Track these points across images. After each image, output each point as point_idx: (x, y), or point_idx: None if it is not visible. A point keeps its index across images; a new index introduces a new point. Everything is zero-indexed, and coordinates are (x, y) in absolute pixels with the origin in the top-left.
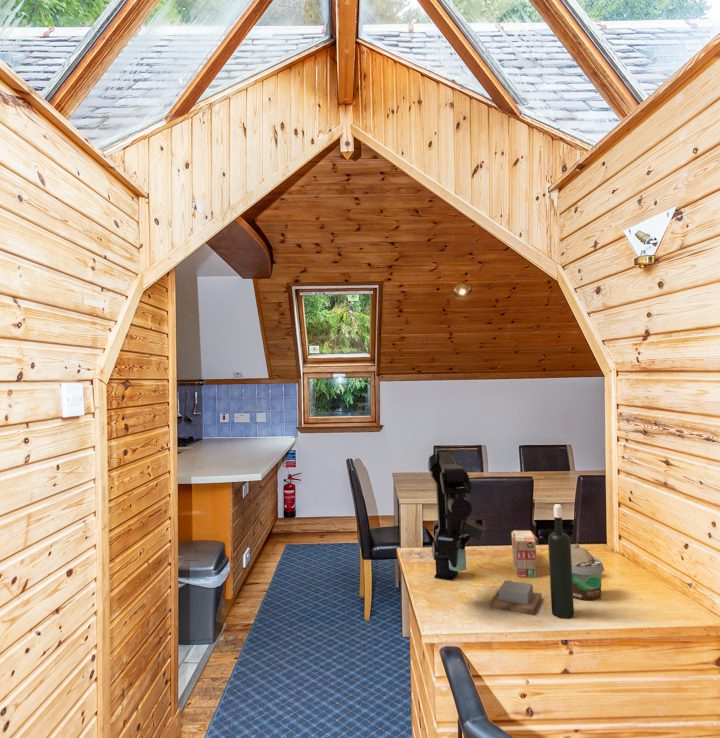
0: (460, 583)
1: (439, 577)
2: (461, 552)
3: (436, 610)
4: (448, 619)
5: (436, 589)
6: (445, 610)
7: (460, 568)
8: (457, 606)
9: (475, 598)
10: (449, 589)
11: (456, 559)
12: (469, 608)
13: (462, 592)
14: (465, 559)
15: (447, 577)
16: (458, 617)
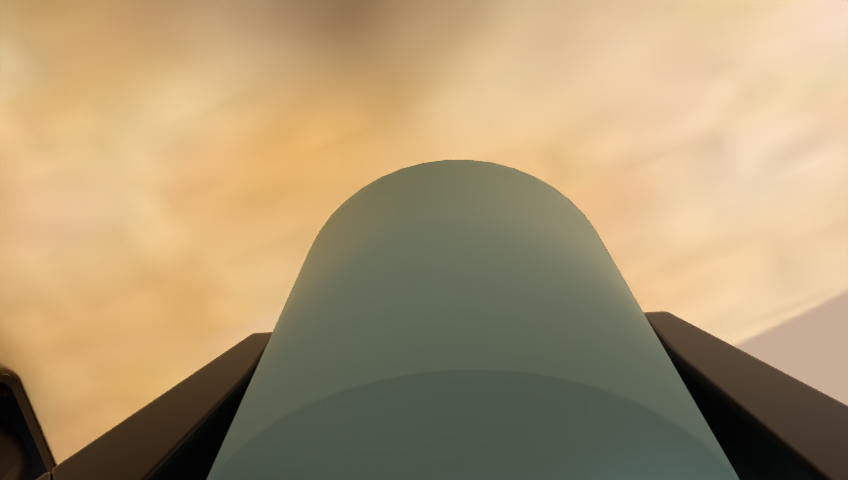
0: (19, 298)
1: (50, 469)
2: (599, 452)
3: (653, 255)
4: (804, 97)
5: None
6: (626, 193)
7: (595, 233)
8: (501, 134)
9: (242, 51)
10: (197, 326)
11: (827, 398)
12: (495, 14)
13: (187, 211)
14: (454, 240)
15: (9, 422)
16: (735, 31)
